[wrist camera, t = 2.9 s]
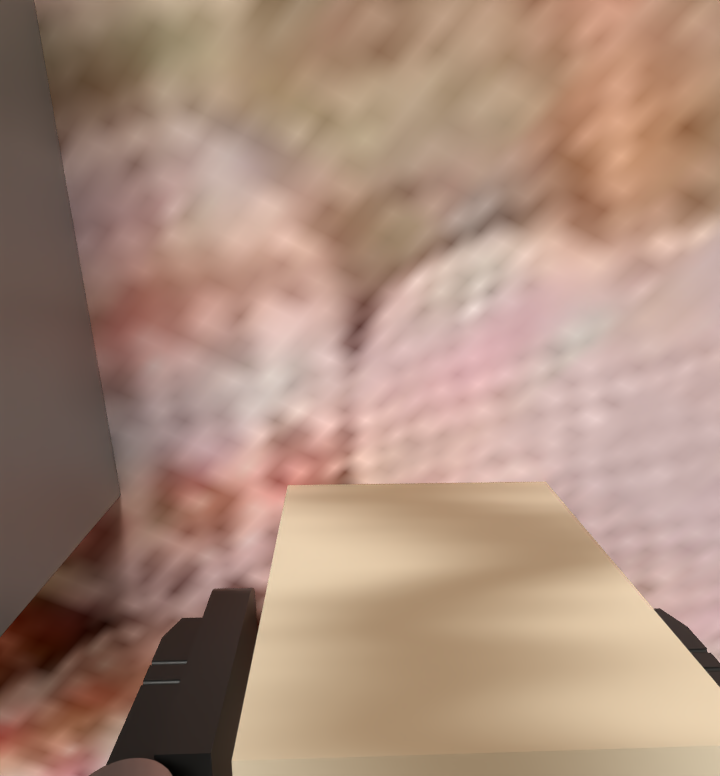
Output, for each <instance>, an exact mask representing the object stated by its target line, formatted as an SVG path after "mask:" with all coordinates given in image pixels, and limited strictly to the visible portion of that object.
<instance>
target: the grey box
mask: <svg viewBox="0 0 720 776" xmlns="http://www.w3.org/2000/svg"><path fill="white" fill-rule="evenodd" d="M120 495H121V494H120V488H119V482H118V477H117V471H116V465H115V460H114V454H113V448H112V443H111V437H110V431H109V425H108V420H107V414H106V408H105V403H104V397H103V391H102V386H101V380H100V374H99V368H98V363H97V357H96V351H95V346H94V340H93V334H92V329H91V323H90V317H89V312H88V306H87V300H86V294H85V289H84V283H83V277H82V272H81V266H80V260H79V255H78V249H77V243H76V237H75V232H74V226H73V220H72V215H71V209H70V203H69V198H68V192H67V186H66V180H65V175H64V169H63V163H62V158H61V152H60V146H59V141H58V135H57V129H56V123H55V118H54V112H53V106H52V101H51V95H50V89H49V84H48V78H47V72H46V67H45V61H44V55H43V49H42V44H41V38H40V32H39V27H38V21H37V15H36V10H35V4H34V0H0V637H1V635H2V634H3V633H4V632H5V631H6V629H7V628H8V627H9V626H10V625H11V624H12V622H13V621H14V620H15V619H16V618H17V617H18V615H19V614H20V613H21V612H22V611H23V609H24V608H25V607H26V606H27V605H28V604H29V602H30V601H31V600H32V599H33V598H34V597H35V595H36V594H37V593H38V592H39V591H40V589H41V588H42V587H43V586H44V585H45V584H46V582H47V581H48V580H49V579H50V578H51V576H52V575H53V574H54V573H55V572H56V571H57V569H58V568H59V567H60V566H61V565H62V564H63V562H64V561H65V560H66V559H67V558H68V556H69V555H70V554H71V553H72V552H73V551H74V549H75V548H76V547H77V546H78V545H79V544H80V542H81V541H82V540H83V539H84V538H85V536H86V535H87V534H88V533H89V532H90V531H91V529H92V528H93V527H94V526H95V525H96V523H97V522H98V521H99V520H100V519H101V518H102V516H103V515H104V514H105V513H106V512H107V511H108V509H109V508H110V507H111V506H112V505H113V503H114V502H115V501H116V500H117V499H118V498H119V496H120Z"/></svg>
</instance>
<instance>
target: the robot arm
mask: <svg viewBox="0 0 720 776" xmlns="http://www.w3.org/2000/svg"><path fill="white" fill-rule="evenodd" d="M654 610H655V612H656V613H657V614H658V615H659V616H660V617H661V619H662V620H663V621H664V622H665V623H666V624H667V626H668V627H669V628H670V629H671V630H672V632H673V633H674V634H675V635H676V636H677V637H678V639H679V640H680V641H681V642H682V643H683V645H684V646H685V647H686V648H687V649H688V650H689V652H690V653H691V654H692V655H693V656H694V658H695V659H696V660H697V661H698V662H699V663H700V665H701V666H702V667H703V668H704V669H705V670H706V672H707V673H708V674H709V675H710V676H711V678H712V679H713V680H714V681H715V682H716V683H717V685H718V686H719V687H720V663H719V662H718V660H717V659H716V658H715V657H714V656H713V655H712V654H711V653H708V652H707V648H706V647H705V646H704V645H703V644H702V643H701V641H700V640H699V639H698V638H697V637H696V636H695V635H694V634H693V633H692V631H691V630H690V629H689V628H688V627H687V626H685V625H684V624H682V623H681V622H679V621H678V620H676V619H675V618H673V617H672V616H670V615H669V614H667V613H666V612H664V611H663V610H661V609H654ZM256 639H257V618H256V599H255V591H254V588H223V589H213V591H212V593H211V595H210V598H209V601H208V604H207V607H206V610H205V612H204V615H203V618H182V619H181V620H180V621H179V622H178V623H177V624H176V625H175V626H174V627H173V628H172V629H171V630H170V631H169V632H168V633H166V634H165V635H164V636H163V637H162V639H161V642H160V644H159V646H158V648H157V651H156V653H155V655H154V657H153V660H152V665H150V667H149V669H148V671H147V673H146V676H145V678H144V680H143V685H141V687H140V689H139V692H138V694H137V696H136V698H135V701H134V703H133V705H132V707H131V710H130V712H129V714H128V717H127V719H126V721H125V723H124V726H123V728H122V730H121V733H120V735H119V737H118V739H117V742H116V744H115V746H114V748H113V751H112V753H111V755H110V758H109V760H108V762H107V764H106V766H104V767H102V768H100V769H99V770H97V771H95V772H94V773H92V774H91V775H89V776H233V774H232V757H233V752H234V747H235V742H236V737H237V732H238V727H239V722H240V717H241V712H242V707H243V703H244V698H245V693H246V688H247V683H248V678H249V673H250V668H251V663H252V658H253V653H254V649H255V644H256Z"/></svg>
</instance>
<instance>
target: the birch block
mask: <svg viewBox="0 0 720 776" xmlns="http://www.w3.org/2000/svg"><path fill="white" fill-rule="evenodd" d="M232 774H233V776H720V687H719V686H718V685H717V683H716V682H715V681H714V680H713V679H712V678H711V676H710V675H709V674H708V673H707V672H706V670H705V669H704V668H703V667H702V666H701V665H700V663H699V662H698V661H697V660H696V659H695V658H694V656H693V655H692V654H691V653H690V652H689V650H688V649H687V648H686V647H685V646H684V645H683V643H682V642H681V641H680V640H679V639H678V637H677V636H676V635H675V634H674V633H673V632H672V630H671V629H670V628H669V627H668V626H667V624H666V623H665V622H664V621H663V620H662V619H661V617H660V616H659V615H658V614H657V613H656V612H655V610H654V609H653V608H652V607H651V606H650V604H649V603H648V602H647V601H646V600H645V599H644V597H643V596H642V595H641V594H640V593H639V591H638V590H637V589H636V588H635V587H634V586H633V584H632V583H631V582H630V581H629V580H628V578H627V577H626V576H625V575H624V574H623V573H622V571H621V570H620V569H619V568H618V567H617V566H616V564H615V563H614V562H613V561H612V560H611V558H610V557H609V556H608V555H607V554H606V553H605V551H604V550H603V549H602V548H601V547H600V545H599V544H598V543H597V542H596V541H595V540H594V538H593V537H592V536H591V535H590V534H589V532H588V531H587V530H586V529H585V528H584V527H583V525H582V524H581V523H580V522H579V521H578V520H577V518H576V517H575V516H574V515H573V514H572V512H571V511H570V510H569V509H568V508H567V507H566V505H565V504H564V503H563V502H562V501H561V499H560V498H559V497H558V496H557V495H556V494H555V492H554V491H553V490H552V489H551V488H550V486H549V485H548V484H547V483H546V482H490V483H418V484H346V485H288V487H287V492H286V496H285V501H284V506H283V511H282V516H281V521H280V526H279V531H278V536H277V541H276V546H275V550H274V555H273V560H272V565H271V570H270V575H269V580H268V585H267V590H266V595H265V600H264V604H263V609H262V614H261V619H260V624H259V629H258V634H257V639H256V644H255V649H254V653H253V658H252V663H251V668H250V673H249V678H248V683H247V688H246V693H245V698H244V703H243V707H242V712H241V717H240V722H239V727H238V732H237V737H236V742H235V747H234V752H233V757H232Z"/></svg>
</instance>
